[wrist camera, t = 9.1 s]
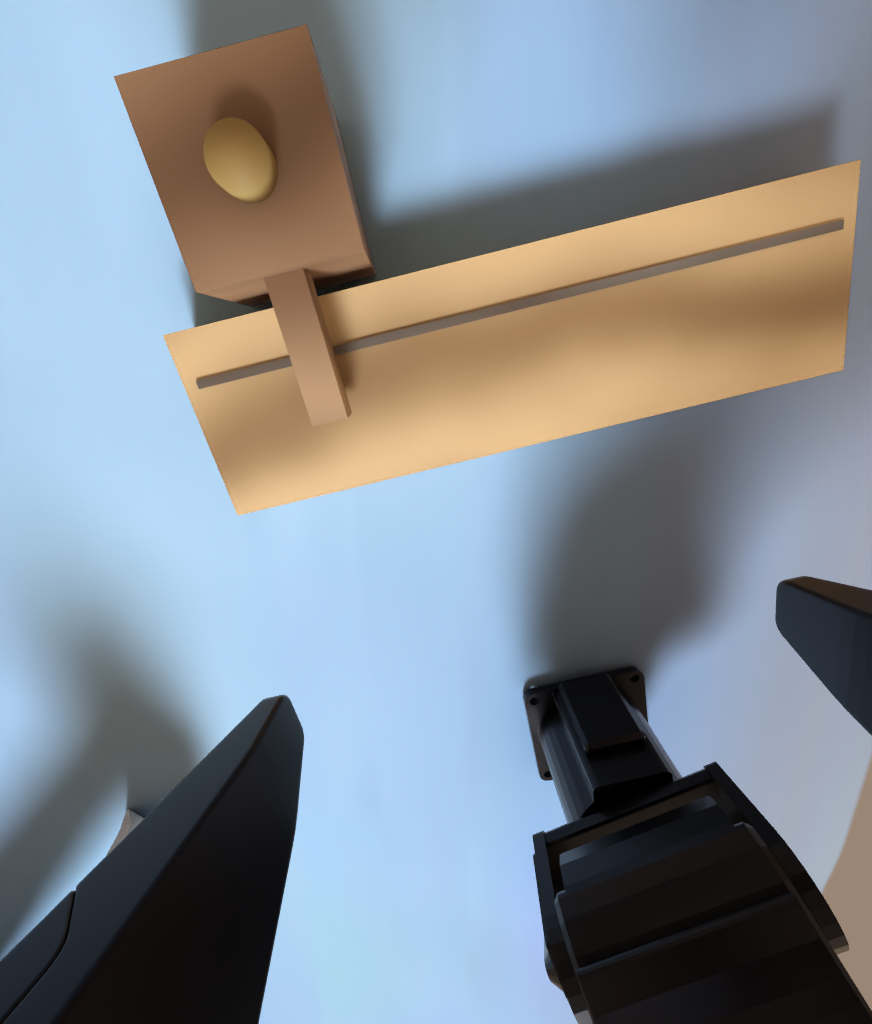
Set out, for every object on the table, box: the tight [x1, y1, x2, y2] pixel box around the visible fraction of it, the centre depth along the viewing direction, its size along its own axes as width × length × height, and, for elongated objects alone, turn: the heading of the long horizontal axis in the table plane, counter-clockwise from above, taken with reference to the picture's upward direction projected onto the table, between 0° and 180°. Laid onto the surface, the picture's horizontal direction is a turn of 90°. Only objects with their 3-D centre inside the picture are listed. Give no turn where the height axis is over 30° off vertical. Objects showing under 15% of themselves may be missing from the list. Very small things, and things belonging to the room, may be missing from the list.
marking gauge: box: [114, 24, 376, 427], centre depth 15 cm, size 10×5×6 cm, turn 13°
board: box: [163, 160, 861, 515], centre depth 18 cm, size 7×24×3 cm, turn 103°
